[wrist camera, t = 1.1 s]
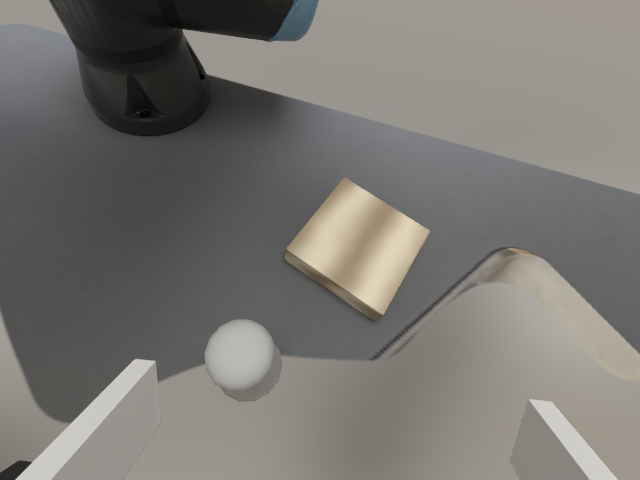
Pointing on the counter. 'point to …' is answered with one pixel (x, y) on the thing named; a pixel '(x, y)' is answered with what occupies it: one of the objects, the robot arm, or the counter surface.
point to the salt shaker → (243, 360)
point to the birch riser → (357, 248)
